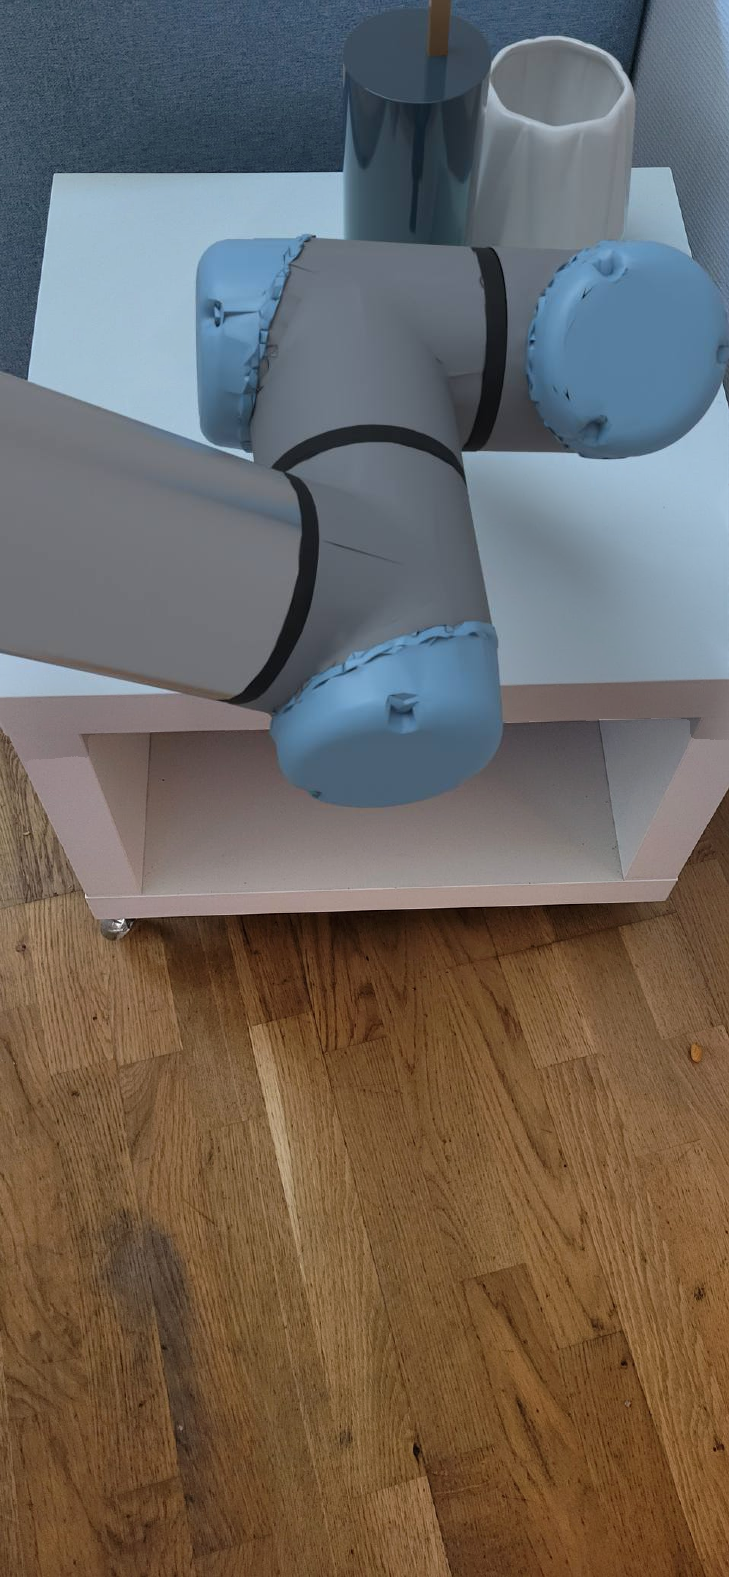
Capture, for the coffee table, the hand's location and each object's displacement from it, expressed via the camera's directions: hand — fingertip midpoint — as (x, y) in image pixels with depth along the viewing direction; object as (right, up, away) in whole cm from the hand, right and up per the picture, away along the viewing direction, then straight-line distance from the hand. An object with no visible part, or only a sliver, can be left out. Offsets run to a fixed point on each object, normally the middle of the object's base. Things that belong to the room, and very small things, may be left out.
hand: (419, 366), depth 77 cm
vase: (+9, +14, +16) cm, 23 cm away
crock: (-1, +7, +12) cm, 14 cm away
